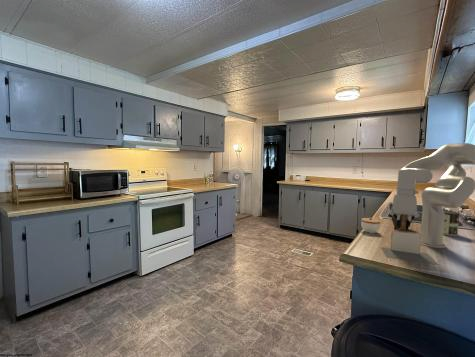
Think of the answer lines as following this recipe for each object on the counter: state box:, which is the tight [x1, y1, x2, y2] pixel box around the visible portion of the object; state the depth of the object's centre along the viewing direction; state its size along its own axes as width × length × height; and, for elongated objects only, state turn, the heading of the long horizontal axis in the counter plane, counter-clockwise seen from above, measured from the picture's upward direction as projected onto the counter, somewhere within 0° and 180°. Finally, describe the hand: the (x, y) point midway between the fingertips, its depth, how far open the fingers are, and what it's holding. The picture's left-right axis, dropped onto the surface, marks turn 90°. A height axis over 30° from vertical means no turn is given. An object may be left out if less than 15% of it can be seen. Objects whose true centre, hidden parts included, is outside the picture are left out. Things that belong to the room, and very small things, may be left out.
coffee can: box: [443, 209, 461, 237], centre depth 151 cm, size 10×10×14 cm
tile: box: [389, 229, 421, 254], centre depth 117 cm, size 2×12×10 cm, turn 68°
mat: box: [380, 246, 440, 266], centre depth 113 cm, size 14×20×1 cm
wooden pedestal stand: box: [398, 214, 407, 232], centre depth 122 cm, size 6×6×14 cm
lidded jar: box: [360, 216, 381, 234], centre depth 151 cm, size 11×11×9 cm
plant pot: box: [389, 203, 413, 230], centre depth 160 cm, size 15×15×16 cm
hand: (402, 227), depth 122 cm, fingers closed on wooden pedestal stand, 3 cm apart
